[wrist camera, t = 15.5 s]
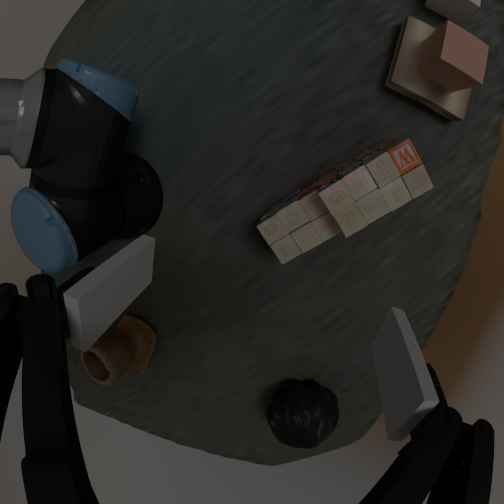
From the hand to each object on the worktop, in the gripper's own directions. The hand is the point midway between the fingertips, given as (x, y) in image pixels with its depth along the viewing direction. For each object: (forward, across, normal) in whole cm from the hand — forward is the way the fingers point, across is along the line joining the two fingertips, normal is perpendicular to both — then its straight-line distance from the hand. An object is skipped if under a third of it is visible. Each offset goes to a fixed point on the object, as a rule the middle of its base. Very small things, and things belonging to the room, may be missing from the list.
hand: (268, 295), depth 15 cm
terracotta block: (+27, +15, +25) cm, 40 cm away
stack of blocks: (+31, +6, +2) cm, 32 cm away
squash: (+31, +15, -40) cm, 53 cm away
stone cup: (+32, -25, -40) cm, 57 cm away
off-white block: (+31, +16, +40) cm, 53 cm away
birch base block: (+31, +15, +25) cm, 43 cm away
